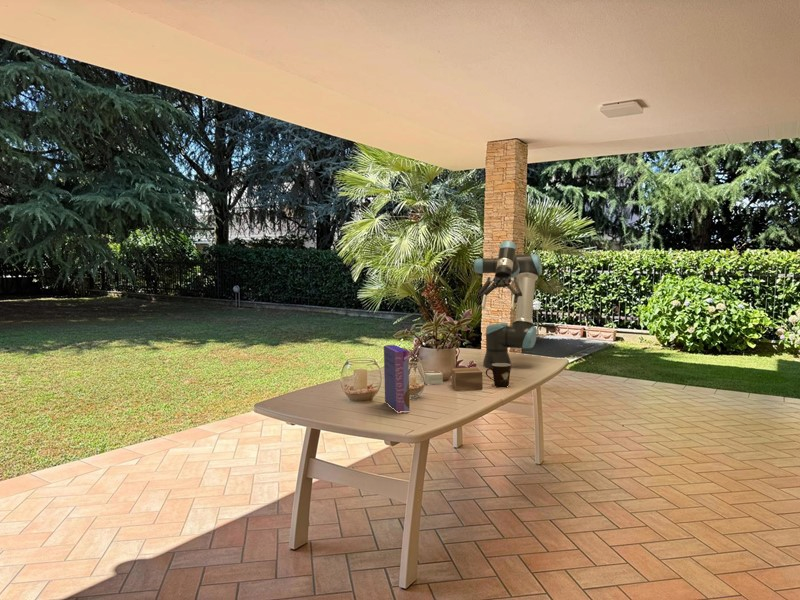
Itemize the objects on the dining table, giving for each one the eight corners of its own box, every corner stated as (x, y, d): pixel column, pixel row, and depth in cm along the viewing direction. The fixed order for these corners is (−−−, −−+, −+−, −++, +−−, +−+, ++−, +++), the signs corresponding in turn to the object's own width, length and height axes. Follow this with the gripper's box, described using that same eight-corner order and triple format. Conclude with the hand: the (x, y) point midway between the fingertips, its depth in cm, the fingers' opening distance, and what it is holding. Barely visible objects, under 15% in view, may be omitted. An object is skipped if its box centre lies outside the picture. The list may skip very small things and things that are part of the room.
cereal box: (409, 412, 214) (408, 350, 213) (397, 413, 213) (396, 351, 211) (396, 402, 231) (394, 344, 229) (385, 403, 229) (383, 345, 228)
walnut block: (451, 385, 260) (451, 368, 260) (477, 384, 261) (476, 367, 261) (456, 390, 248) (455, 373, 248) (482, 389, 249) (482, 372, 249)
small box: (439, 381, 270) (439, 370, 270) (443, 384, 263) (442, 373, 262) (423, 382, 269) (423, 371, 269) (426, 385, 261) (426, 374, 261)
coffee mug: (510, 384, 260) (509, 363, 259) (512, 388, 251) (511, 366, 251) (484, 384, 261) (484, 363, 260) (485, 388, 252) (485, 366, 252)
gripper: (476, 265, 267) (469, 303, 257) (529, 264, 256) (523, 304, 246) (480, 274, 272) (473, 312, 262) (531, 274, 262) (526, 312, 252)
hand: (497, 308), depth 254 cm, fingers open, 13 cm apart
